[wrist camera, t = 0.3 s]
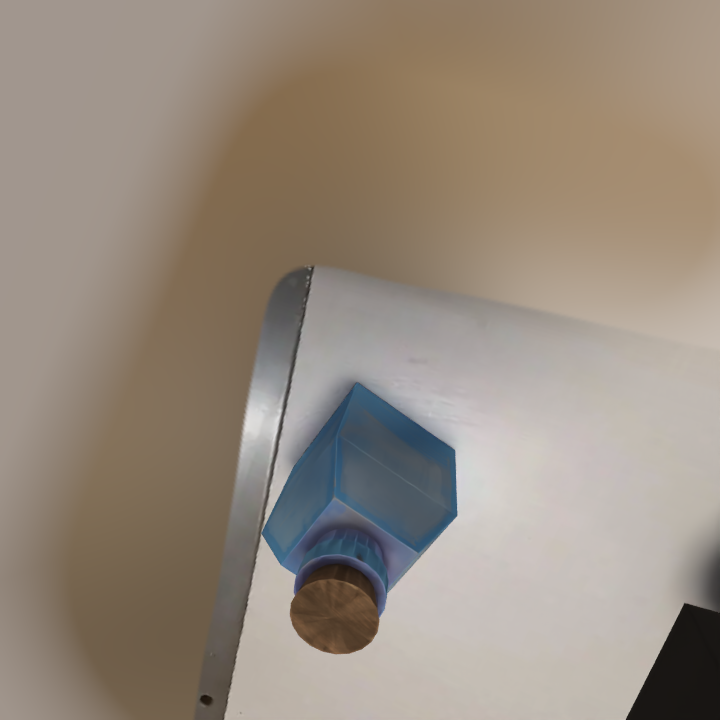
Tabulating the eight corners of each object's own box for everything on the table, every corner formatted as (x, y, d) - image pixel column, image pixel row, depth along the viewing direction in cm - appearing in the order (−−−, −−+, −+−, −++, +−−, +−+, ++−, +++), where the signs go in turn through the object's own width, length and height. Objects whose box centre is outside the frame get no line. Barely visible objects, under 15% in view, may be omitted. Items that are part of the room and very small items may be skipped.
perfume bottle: (292, 468, 34) (216, 624, 23) (357, 382, 32) (308, 507, 21) (386, 531, 34) (357, 715, 23) (455, 450, 32) (460, 609, 21)
